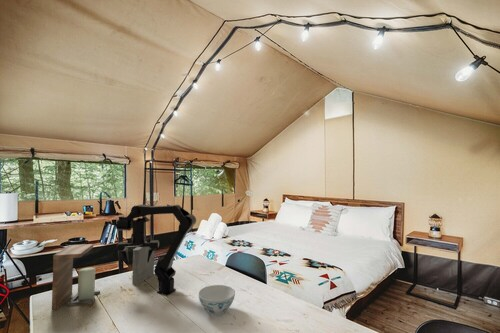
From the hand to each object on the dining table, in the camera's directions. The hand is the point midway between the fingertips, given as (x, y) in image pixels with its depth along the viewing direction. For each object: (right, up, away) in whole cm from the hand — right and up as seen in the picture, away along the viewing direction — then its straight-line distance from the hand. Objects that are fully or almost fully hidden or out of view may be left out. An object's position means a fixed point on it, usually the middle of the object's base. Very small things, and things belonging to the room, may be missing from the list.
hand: (138, 263), depth 128 cm
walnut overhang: (-22, -12, -11) cm, 27 cm away
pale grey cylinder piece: (-19, -13, -10) cm, 25 cm away
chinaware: (+41, -13, -19) cm, 47 cm away
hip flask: (-3, -14, +14) cm, 20 cm away
